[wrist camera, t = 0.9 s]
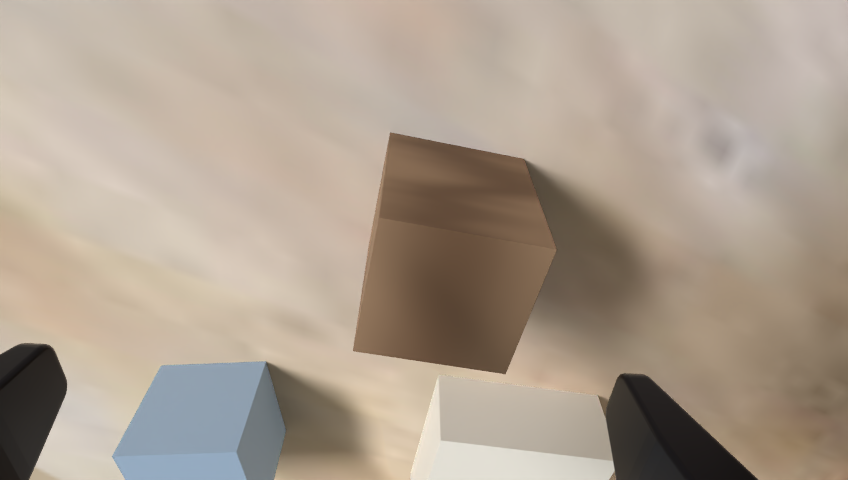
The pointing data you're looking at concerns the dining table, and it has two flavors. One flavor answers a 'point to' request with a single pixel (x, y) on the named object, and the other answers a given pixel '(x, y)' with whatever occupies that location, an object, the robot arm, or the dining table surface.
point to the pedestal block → (511, 434)
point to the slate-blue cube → (205, 425)
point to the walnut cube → (452, 256)
